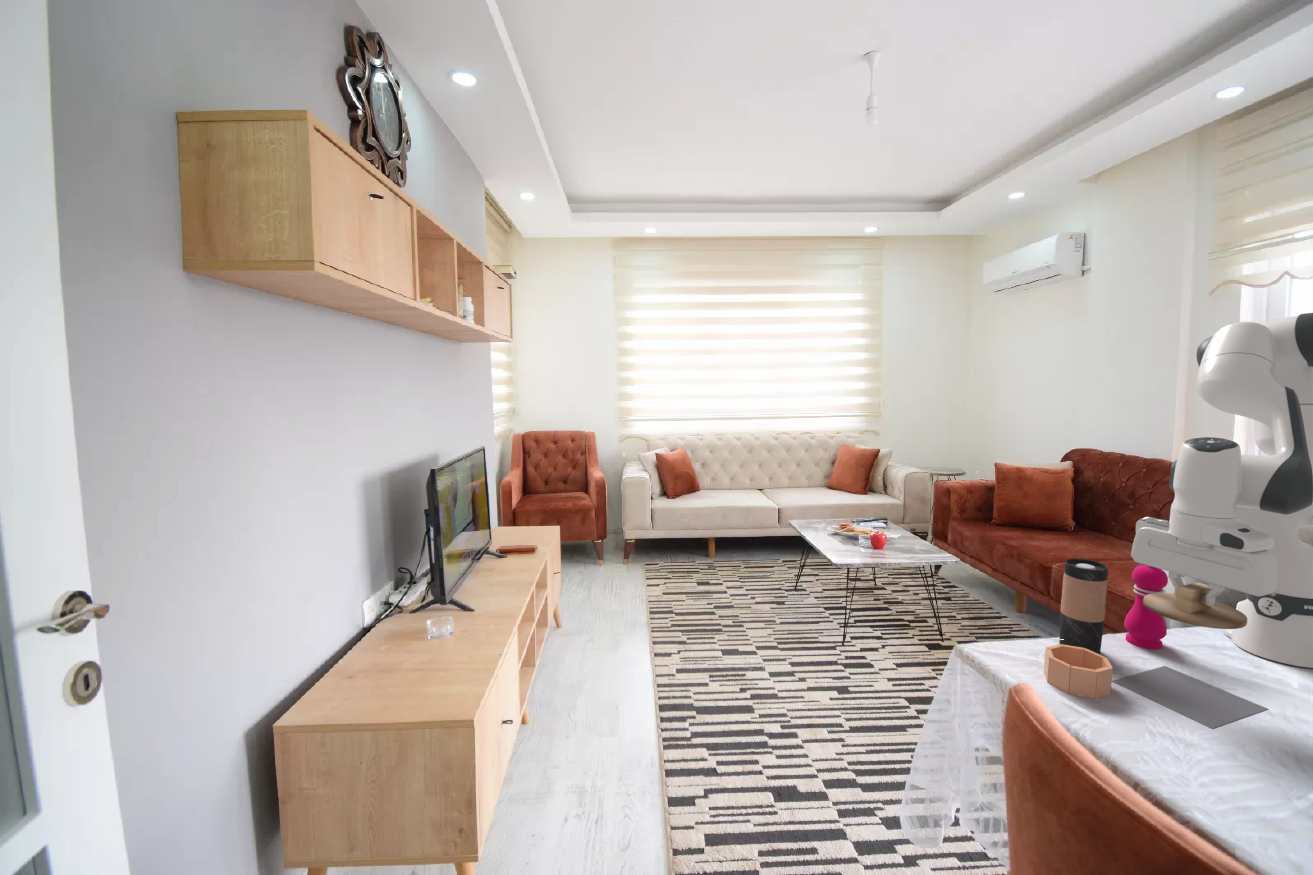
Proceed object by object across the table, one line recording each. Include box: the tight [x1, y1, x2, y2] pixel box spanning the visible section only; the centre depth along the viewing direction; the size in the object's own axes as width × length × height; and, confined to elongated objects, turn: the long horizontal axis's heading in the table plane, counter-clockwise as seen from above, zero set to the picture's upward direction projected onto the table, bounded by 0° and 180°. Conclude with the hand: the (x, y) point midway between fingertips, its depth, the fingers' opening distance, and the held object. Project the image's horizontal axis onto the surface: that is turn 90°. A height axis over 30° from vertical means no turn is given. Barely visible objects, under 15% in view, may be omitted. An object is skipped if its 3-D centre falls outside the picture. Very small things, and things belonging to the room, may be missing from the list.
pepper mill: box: [1123, 564, 1169, 651], centre depth 127 cm, size 7×7×20 cm
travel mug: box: [1059, 558, 1109, 655], centre depth 124 cm, size 8×8×20 cm
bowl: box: [1043, 644, 1114, 700], centre depth 112 cm, size 10×10×6 cm
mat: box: [1112, 665, 1269, 730], centre depth 108 cm, size 16×16×1 cm
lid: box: [1143, 582, 1247, 630], centre depth 106 cm, size 14×14×5 cm
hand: (1193, 601), depth 106 cm, fingers closed on lid, 2 cm apart
